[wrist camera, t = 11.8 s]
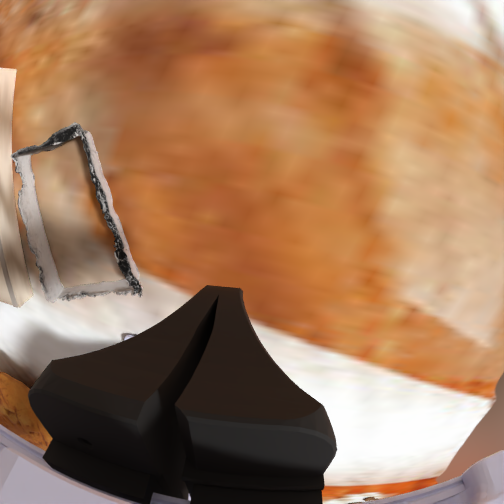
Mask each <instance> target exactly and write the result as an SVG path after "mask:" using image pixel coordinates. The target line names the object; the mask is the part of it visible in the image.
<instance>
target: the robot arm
mask: <svg viewBox="0 0 504 504" xmlns="http://www.w3.org/2000/svg"><path fill="white" fill-rule="evenodd" d="M28 399H29V403H30V406H31V408H32V410H33V412H34V413H35V415H36V416H37V418H38V419H39V421H40V422H41V423H42V425H43V426H44V428H45V429H46V430H47V432H48V433H49V434H50V436H51V437H52V438H53V439H52V441H51V443H50V444H49V446H48V448H47V450H46V451H44V450H42V449H40V448H38V447H37V446H35V445H33V444H31V443H30V442H28V441H26V440H24V439H23V438H21V437H19V436H18V435H16V434H15V433H13V432H11V431H10V430H8V429H7V428H5V427H4V426H2V425H1V424H0V504H322V491H321V490H323V489H324V475H323V474H324V472H325V471H326V469H327V468H328V466H329V465H330V463H331V462H332V460H333V458H334V457H335V454H336V451H337V447H336V439H335V435H334V432H333V428H332V425H331V423H330V420H329V417H328V415H327V413H326V410H325V408H324V406H323V405H322V404H321V403H319V402H318V401H317V400H315V399H314V398H312V397H311V396H310V395H308V394H307V393H306V392H304V391H303V390H302V389H300V388H299V387H298V386H297V385H296V384H295V383H294V382H293V381H292V380H291V379H290V378H289V377H288V376H287V375H286V374H285V373H284V372H283V371H282V370H281V368H280V367H279V366H278V365H277V364H276V363H275V362H274V360H273V359H272V358H271V356H270V355H269V354H268V352H267V351H266V349H265V348H264V346H263V345H262V343H261V342H260V340H259V338H258V336H257V335H256V333H255V331H254V329H253V327H252V325H251V322H250V320H249V317H248V315H247V312H246V309H245V306H244V302H243V291H242V290H241V289H240V288H231V287H220V286H209V285H207V286H205V287H204V288H203V289H202V290H200V291H199V292H198V293H197V294H196V295H195V296H194V297H192V298H191V299H190V300H189V301H188V302H186V303H185V304H184V305H183V306H181V307H180V308H179V309H178V310H176V311H175V312H174V313H172V314H171V315H169V316H168V317H167V318H165V319H164V320H162V321H161V322H159V323H158V324H156V325H154V326H153V327H151V328H149V329H147V330H146V331H144V332H142V333H140V334H138V335H136V336H132V335H126V337H125V338H124V341H122V342H120V343H118V344H115V345H113V346H110V347H107V348H104V349H101V350H98V351H94V352H91V353H87V354H83V355H79V356H74V357H69V358H64V359H58V360H52V361H51V363H50V364H49V365H48V366H47V368H46V369H45V370H44V372H43V373H42V374H41V375H40V377H39V378H38V379H37V381H36V382H35V383H34V385H33V386H32V388H31V389H30V390H29V393H28ZM355 504H504V451H503V450H501V451H499V452H496V453H494V454H492V455H490V456H488V457H485V458H484V459H481V460H479V461H477V462H476V463H474V464H473V465H472V466H470V467H469V468H468V469H467V470H466V471H465V472H464V473H463V474H462V475H461V476H459V477H456V478H453V479H451V480H448V481H445V482H442V483H439V484H436V485H433V486H430V487H427V488H423V489H420V490H416V491H413V492H409V493H405V494H401V495H397V496H393V497H388V498H383V499H378V500H373V501H367V502H361V503H355Z"/></svg>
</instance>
